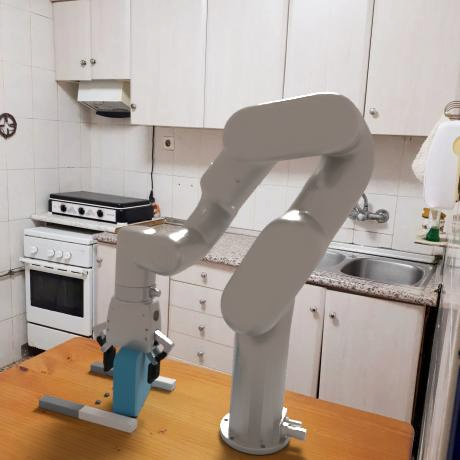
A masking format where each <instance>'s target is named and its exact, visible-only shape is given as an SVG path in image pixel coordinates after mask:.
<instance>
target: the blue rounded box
mask: <svg viewBox="0 0 460 460" xmlns="http://www.w3.org/2000/svg"><path fill="white" fill-rule="evenodd" d="M150 363H151V362H150V360H149V359H148V357H147V355H146V354H145V353H142V352H141V351H136V350H131V349H127V348H122V347H121V348H119V350H118V351H116V355H115V358H114V363H113V376H112V413H115V414H119V415H122V416H126V417H133V418H134V417H135V418H136V417H138V416H139V414H140V412H141V410H142V408H143V406H144V403H145V401H146V400H147V398H148V395H149V393H150V391H151V388H152V386H151V384H148V383H147V376H148V365H149V364H150Z"/></svg>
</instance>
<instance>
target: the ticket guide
mask: <svg viewBox="0 0 460 460" xmlns="http://www.w3.org/2000/svg"><path fill="white" fill-rule="evenodd" d="M89 367H90V369H89V371H90V372H93V373H95V374H101V375H105V376H110V377H113V368H112V369H110V370H109V371H108V372H104V365H103V361H97V360H95V361H93V362H92V363H91V364H90V365H89ZM151 387H154V388H158V389H163V390H166V391H167V390H168V391H174V389H175V388H176V387H177V380H176V379H174V378H170V377H167V376H162V375H159V377H158V378H157V379H156V380H155V381H154V382H153V383H151ZM104 396H105V397H109V396H110V392H105V393H104ZM101 402H102V401H101V400H100V399H97V400H95V404H96V405H97V404H101ZM38 408H41V409H44V410H48V411H50V412H51V411H52V412H55V413H58V414H62V415H66V416H69V417H72V418H76V419H80V420H82V421H83V420H84V421H86V422H90V423H93V424H97V425H100V426H105V427H107V428H111V429H113V430H114V429H115V430H118V431H121V432H125V433H129V434H132V433H133V432H134V431H135V430H136V429H137V428H138V419H137V418H134V417H133V418H132V417H131V416H123V415H119V414H115V413H113V412H112V411H107V410H103V409H100V408H96V407H93V406H89V405H85V404H81V403H77V402H74V401H71V400H66V399H63V398H60V397H56V396H52V395H48V394H45V395H44V396H42V397H41V398H39V399H38Z"/></svg>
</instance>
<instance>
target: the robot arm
mask: <svg viewBox="0 0 460 460" xmlns="http://www.w3.org/2000/svg"><path fill="white" fill-rule="evenodd" d="M222 144H223V148H222V149H221V151H220V152H219V154H217V156H216V157H215V159H214V160H213V161H212V162H211V164H210V165H209V167H208V168H207V169H206V170H205V172H204V173H203V174H202V176H201V177H200V180H199V186H200V191H201V196H200V199H199V201H198V203H197V206H195V208H194V210H193V211H192V213H191V214H190V215H189V217H188V218H187V219H186V220H185V221H184V223H183V224H182V225H181V226H180V227H179V228H177V229H174V230H170V231H167V232H162V233H158V232H157V230H156V229H155V228H153V227H150V226H146V225H137V224H136V225H131V224H130V225H125V226H122V227H120V229H118V231H117V235H116V246H115V247H116V250H115V269H114V270H115V271H114V274H115V275H114V294H112V296H111V298H110V302H109V304H108V305H109V306H108V310H107V315H106V316H107V317H106V321H104V322H101V323H98V324H96V325H94V326H92V330H93V333H94V337H95V338H96V339H95V341H96V342H97V344H98V345H99V346H100V351H101V352H102V353H103V355H102V356H103V357H102V363H103V365H104V372H108V371H109V370H110V369H112V368H113V363H114V358H115V355H116V354H117V349H116V347H117V348H119V349H120V348H121V347H122V348H127V349H131V350H136V351H141V352H142V353H145V354H146V355H147V357H148V359H149V360H150V362H151V363H150V364H149V365H148V376H147V383H148V384H151V383H153V382H154V381H155V380H156V379H157V378H158V377H159V376H161V375H160V374H161V362H162V361H163V360H164V359H165V358H166V357H167V356H169V355H170V353H171V352H172V350H173V349H174V347H175V343H174V342H173V341H172V340H171V339H170V338H168V337H167V336H166V335H165V334H163V332H162V314H161V313H162V312H161V307H160V305H161V304H160V301H159V298H160V296H161V295H162V290H161V289H158V288H157V282H156V281H157V280H156V279H157V275H159V276H163V277H172V276H175V275H178V274H180V273H182V272H184V271H186V270H187V269H189V268H191V267H193V266H195V265H197V264H198V263H200V262H201V261H202V260H203V259H204V258H205V257H206V256H207V255H208V254H209V253H210V251H211V250H212V249H213V248H214V247H215V245H216V244H217V243H218V242H219V241H220V239H221V238H222V237H223V236H224V235H225V233H226V231H228V230H229V229H228V228H229V227H230V226H231V224H232V222H233V221H234V219H235V218H236V217H237V215H238V213H239V211H240V209H241V208H242V207H243V205H244V204H245V203H246V202H247V201H248V199H249V198H250V196H251V195H252V194H253V193H254V192H255V191H256V190H257V188H258V187H259V186H260V184H261V183H262V182H263V181H264V179H265V178H266V177H267V176H268V175H269V174H270V173H271V172H272V170H273V168H275V166H276V165H277V164H278V163H279V162H281V161H291V160H298V159H303V158H305V159H306V158H311V157H318V156H320V157H319V162H318V164H317V166H316V168H315V169H314V171H313V172H312V173H311V175H310V176H309V177H308V179H307V180H306V182H305V183H304V185H303V187H302V188H301V191H299V193H298V195H297V197H295V199H294V201H293V202H292V203H291V205H290V206H289V207H288V209H287V210H286V211H285V212H284V213H283V214H281V215H280V216H278V217H276V218H274V219H273V220H272V221H270V222H269V223H268V224H267V225H266V226H265V227H264V228H263V229H262V230H261V231H260V233H259V234H258V235H257V237H256V238H255V240H254V241H253V243H252V245H251V246H250V247H249V249H248V250H247V252H246V253H245V255H244V257H242V260H241V261H240V263H239V264H238V266H237V267H236V269H235V271H234V272H233V273H232V275H231V276H230V278H229V280H228V281H227V283H226V284H225V286H224V288H223V289H222V290H223V291H222V293H221V297H220V302H219V303H220V305H219V307H220V311H221V312H220V313H221V316H222V318H223V321H224V322H225V324H226V325H227V327H228V328H230V330H232V331H233V332H234V338H233V340H234V341H233V353H232V355H233V356H232V371H231V384H230V402H229V413H227V414H226V415H224V416H223V418H222V419H221V421H220V425H219V434H220V437H221V438H222V440H223V441H224V443H226V445H228V446H229V447H231V448H232V449H235V450H236V451H239V452H241V453H243V454H244V453H246V454H250V455H259V456H260V455H261V456H262V455H270V454H274V453H276V452H279V451H280V450H283V449H284V448H285V447H286V446H287V445H288V443H289V442H290V438H294V439H295V440H299V441H303V442H306V438H307V431H308V430H307V429H306V428H303V427H302V426H303V421H301V420H296V419H295V420H294V419H290V417H289V416H287V414H288V408H285V407H284V405H285V391H286V383H287V381H286V379H287V371H288V357H289V349H290V339H291V338H290V337H291V331H292V330H291V329H292V323H293V316H294V311H295V302H296V297H297V295H298V294H299V292H300V291H301V290H302V288H303V287H304V285H305V284H306V283H307V282H308V280H309V278H310V277H311V276H312V274H313V273H314V272H315V270H316V269H317V267H318V266H319V265H320V263H321V261H322V260H323V258H324V257H325V256H326V253H327V251H328V249H329V246H330V245H331V243H332V241H333V239H334V238H335V237H336V235H337V234H338V232H339V231H340V229H341V228H342V227H343V225H344V224H345V222H346V221H347V219H348V218H349V216H350V215H351V213H352V211H353V210H354V208H355V207H356V205H358V202H359V201H360V199H361V198H362V197H363V195H364V193H365V191H366V190H367V188H368V185H369V184H370V182H371V179H372V175H373V172H374V168H375V163H376V162H375V161H376V149H375V147H376V146H375V142H374V138H373V135H372V133H371V130H370V128H369V125H368V123H367V122H366V120H365V118H364V115H363V114H362V112H361V111H360V110H359V108H358V107H357V106H356V105H355V103H354V102H353V101H352V100H351V99H350V98H348V97H347V96H345V95H343V94H341V93H338V92H332V91H331V92H329V91H326V92H325V91H324V92H316V93H311V94H307V95H300V96H295V97H291V98H285V99H281V100H275V101H268V102H264V103H259V104H254V105H253V104H252V105H249V106H245V107H242V108H240V109H238V110H236V111H235V112H234V113H232V114H231V115H230V117H229V118H228V119H227V120H226V123H225V124H224V126H223V131H222ZM104 330H105V331H104ZM160 345H161V346H162V347H163V349H162V351H161V350H160V348H159V347H158V346H160Z"/></svg>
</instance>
